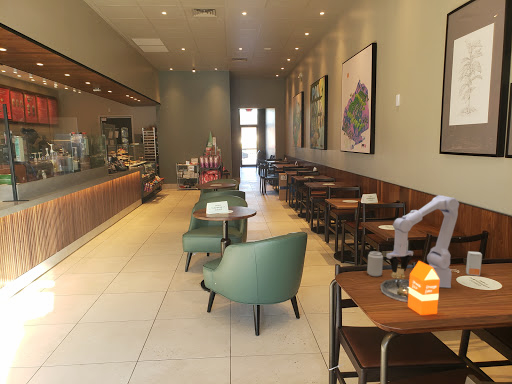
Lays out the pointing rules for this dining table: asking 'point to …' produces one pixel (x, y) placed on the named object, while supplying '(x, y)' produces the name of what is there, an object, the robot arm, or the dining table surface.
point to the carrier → (396, 289)
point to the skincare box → (473, 263)
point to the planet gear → (399, 273)
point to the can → (375, 264)
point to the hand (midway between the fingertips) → (398, 271)
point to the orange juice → (423, 289)
